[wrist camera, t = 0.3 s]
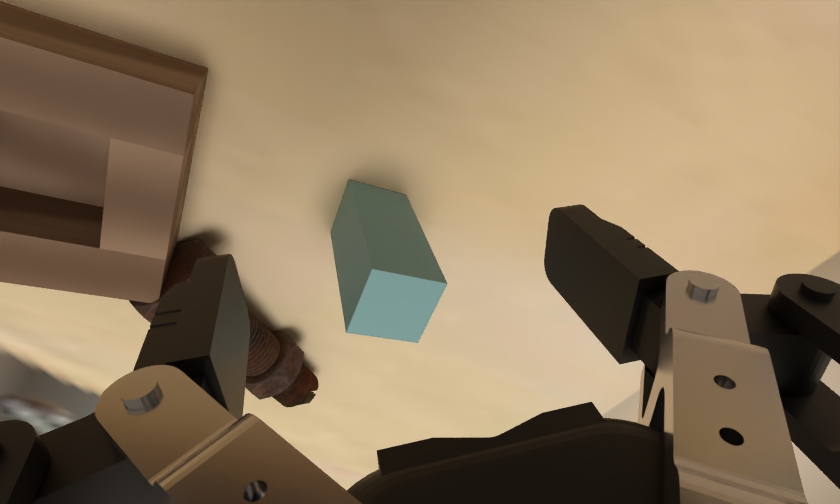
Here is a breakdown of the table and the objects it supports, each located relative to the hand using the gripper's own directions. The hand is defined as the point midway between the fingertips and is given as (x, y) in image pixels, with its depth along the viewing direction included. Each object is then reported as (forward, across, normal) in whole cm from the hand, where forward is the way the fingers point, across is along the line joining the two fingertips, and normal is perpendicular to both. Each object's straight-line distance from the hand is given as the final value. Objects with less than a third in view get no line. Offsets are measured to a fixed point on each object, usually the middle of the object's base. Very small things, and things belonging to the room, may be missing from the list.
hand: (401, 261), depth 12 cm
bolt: (+20, +8, +15) cm, 26 cm away
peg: (+19, -1, +8) cm, 21 cm away
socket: (+19, +14, +1) cm, 24 cm away
